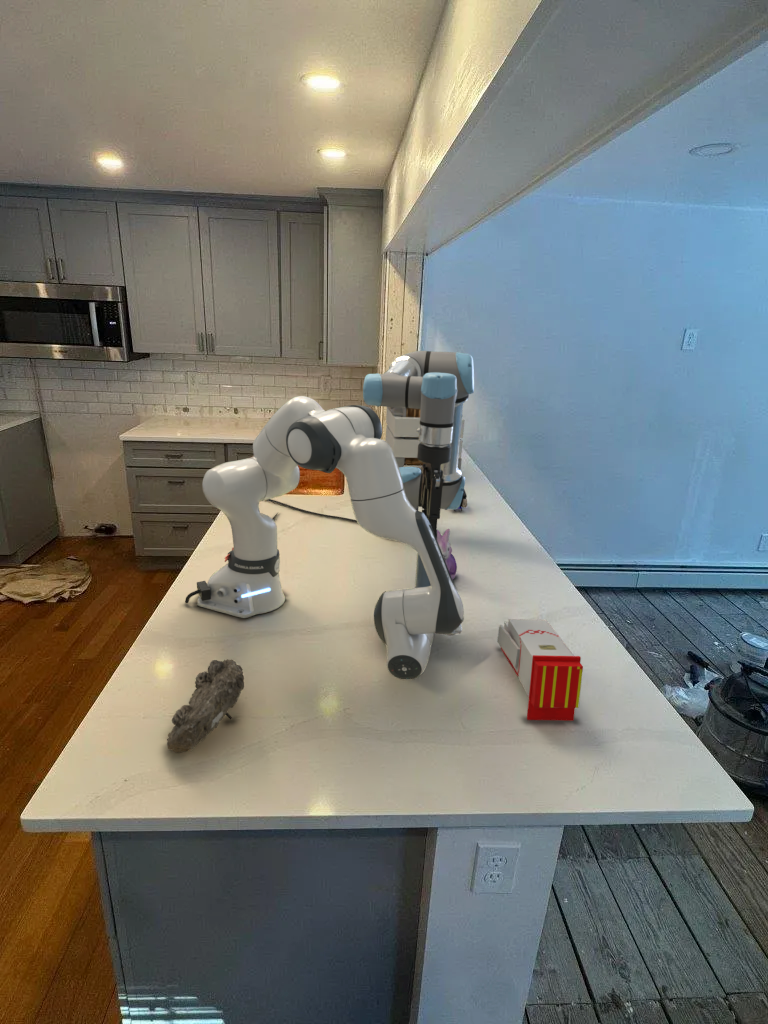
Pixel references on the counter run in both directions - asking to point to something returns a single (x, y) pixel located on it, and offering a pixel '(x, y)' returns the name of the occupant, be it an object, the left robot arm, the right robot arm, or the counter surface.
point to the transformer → (408, 435)
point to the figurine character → (463, 501)
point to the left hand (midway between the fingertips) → (423, 600)
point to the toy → (542, 668)
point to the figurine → (447, 552)
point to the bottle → (421, 574)
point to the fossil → (206, 705)
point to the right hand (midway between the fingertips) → (427, 539)
